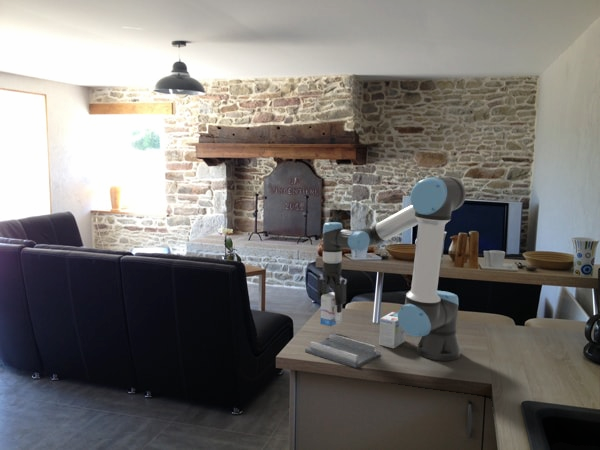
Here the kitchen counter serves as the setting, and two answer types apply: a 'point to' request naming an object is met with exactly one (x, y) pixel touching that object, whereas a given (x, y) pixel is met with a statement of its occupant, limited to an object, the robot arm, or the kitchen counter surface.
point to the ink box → (329, 309)
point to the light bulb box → (391, 331)
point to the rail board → (344, 350)
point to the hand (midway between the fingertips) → (331, 318)
